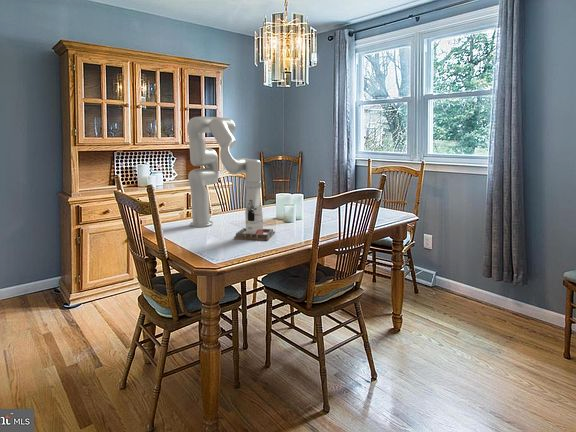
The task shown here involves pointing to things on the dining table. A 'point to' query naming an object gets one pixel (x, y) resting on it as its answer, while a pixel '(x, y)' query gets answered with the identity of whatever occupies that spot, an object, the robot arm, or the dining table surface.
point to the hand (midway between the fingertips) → (253, 218)
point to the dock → (255, 235)
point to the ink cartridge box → (255, 222)
